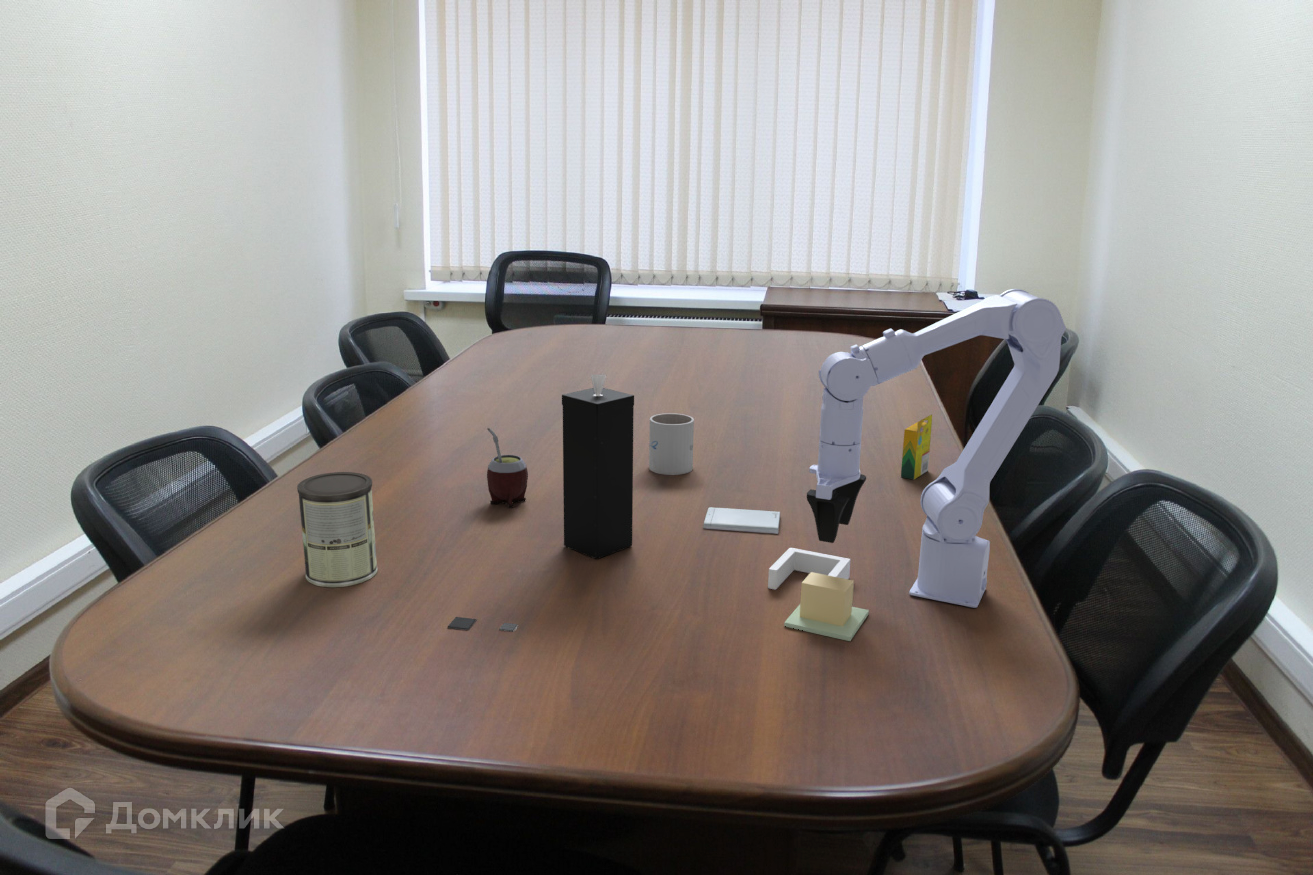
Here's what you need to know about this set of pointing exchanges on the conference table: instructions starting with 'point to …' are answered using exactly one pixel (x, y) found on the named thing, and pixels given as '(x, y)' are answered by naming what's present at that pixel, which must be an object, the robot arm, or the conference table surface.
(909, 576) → the conference table surface
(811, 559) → the frame
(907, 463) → the crayon box
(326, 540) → the coffee can
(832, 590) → the block
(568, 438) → the tall black box
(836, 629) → the mat
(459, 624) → the black square blocks
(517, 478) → the mate gourd
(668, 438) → the mug
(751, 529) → the hard drive
